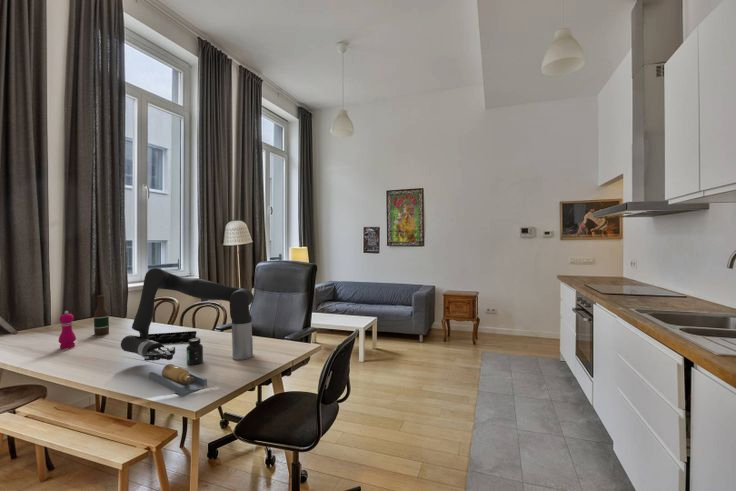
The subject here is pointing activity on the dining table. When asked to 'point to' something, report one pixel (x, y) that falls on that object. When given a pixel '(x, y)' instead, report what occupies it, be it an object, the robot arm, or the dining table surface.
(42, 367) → the dining table surface
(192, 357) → the supplement bottle
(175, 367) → the bottle
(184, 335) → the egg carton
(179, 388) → the cradle
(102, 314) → the beer bottle
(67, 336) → the pepper mill
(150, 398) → the dining table surface
